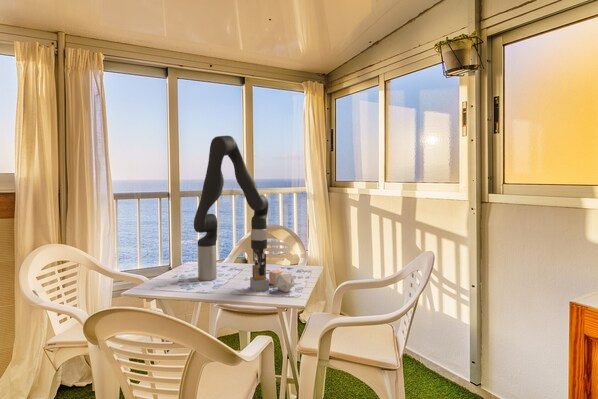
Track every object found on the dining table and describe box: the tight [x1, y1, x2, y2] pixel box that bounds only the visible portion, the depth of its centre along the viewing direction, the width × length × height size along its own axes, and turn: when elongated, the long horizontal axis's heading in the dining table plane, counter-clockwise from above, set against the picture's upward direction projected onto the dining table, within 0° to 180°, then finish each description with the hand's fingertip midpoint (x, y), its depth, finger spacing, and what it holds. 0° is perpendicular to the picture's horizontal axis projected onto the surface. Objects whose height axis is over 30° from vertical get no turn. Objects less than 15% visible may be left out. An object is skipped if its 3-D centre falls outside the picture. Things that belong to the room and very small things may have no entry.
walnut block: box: [251, 264, 267, 281], centre depth 171 cm, size 5×5×6 cm
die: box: [274, 271, 296, 293], centre depth 169 cm, size 8×9×10 cm
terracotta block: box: [268, 269, 284, 287], centre depth 180 cm, size 5×5×6 cm
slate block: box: [249, 276, 270, 293], centre depth 172 cm, size 7×7×5 cm
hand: (259, 273), depth 171 cm, fingers open, 7 cm apart
